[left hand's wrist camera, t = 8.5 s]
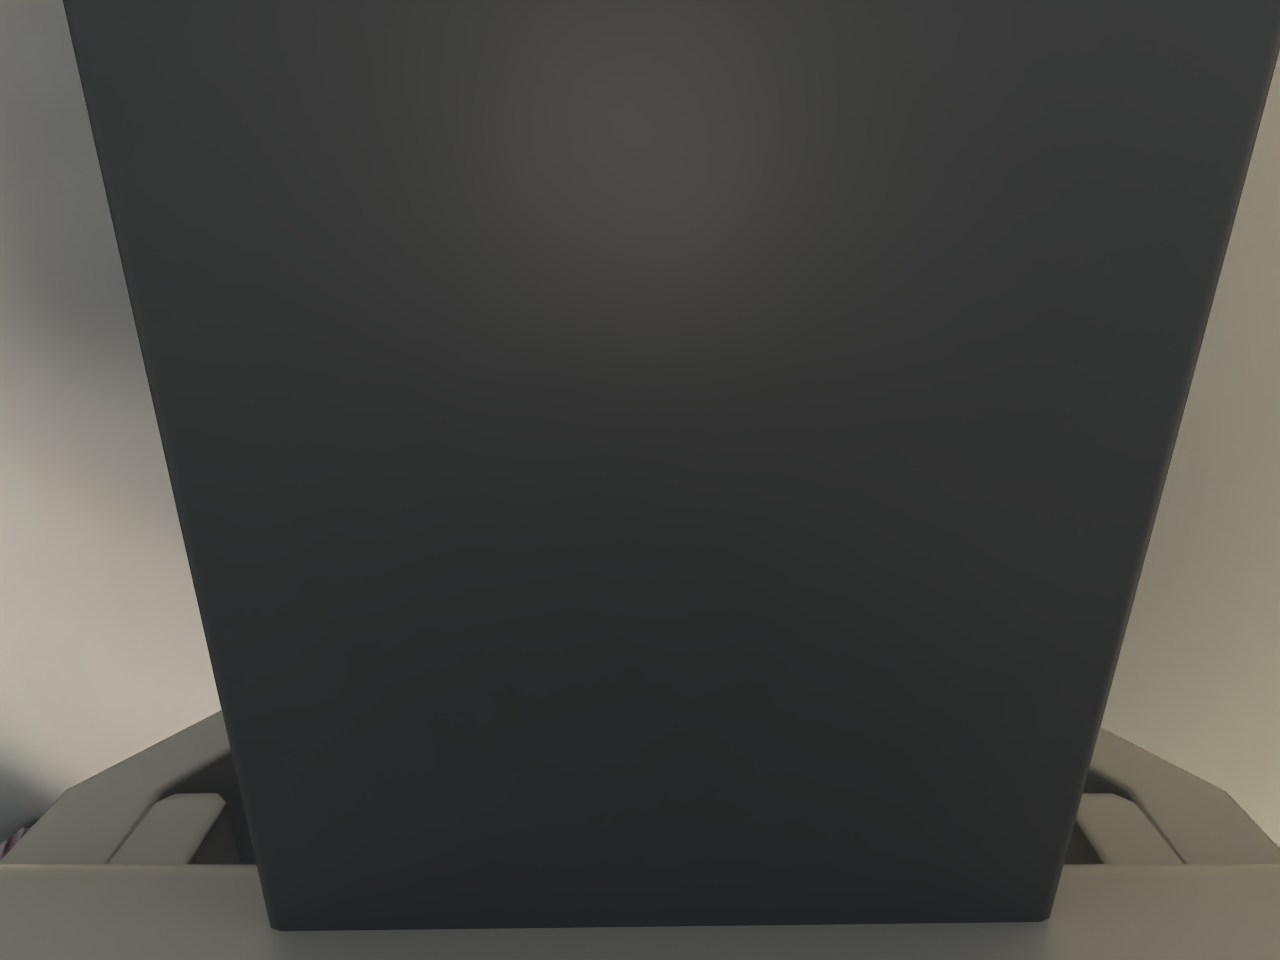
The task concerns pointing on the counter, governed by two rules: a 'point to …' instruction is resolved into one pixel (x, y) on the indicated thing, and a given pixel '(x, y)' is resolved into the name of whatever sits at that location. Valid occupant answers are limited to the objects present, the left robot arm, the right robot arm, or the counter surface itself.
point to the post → (668, 428)
